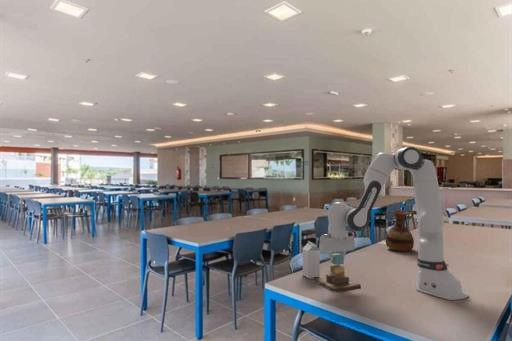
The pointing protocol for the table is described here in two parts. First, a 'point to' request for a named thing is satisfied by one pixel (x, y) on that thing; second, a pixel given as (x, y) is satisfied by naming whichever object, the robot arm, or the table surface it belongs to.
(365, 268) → the table surface
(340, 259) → the teal cube
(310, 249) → the milk carton
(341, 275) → the oak cube
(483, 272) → the table surface
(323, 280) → the walnut base
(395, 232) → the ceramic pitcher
